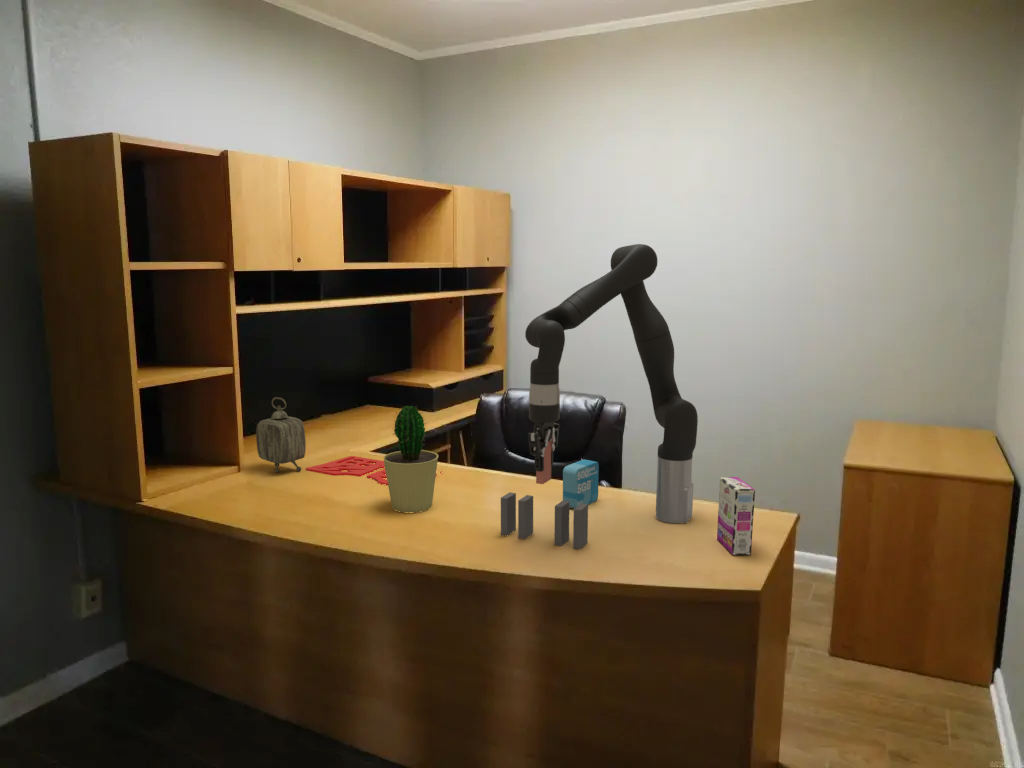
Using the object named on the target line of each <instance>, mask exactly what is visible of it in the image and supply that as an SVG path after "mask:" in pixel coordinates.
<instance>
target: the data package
mask: <svg viewBox="0 0 1024 768" xmlns="http://www.w3.org/2000/svg"><path fill="white" fill-rule="evenodd" d="M599 468H600V467H599V462H598V461H594V460H589V459H581V460H578V461H576V462H574V463H570V464H568V465H566V466H565V467H564V468H563V470H562V501H569V509H572V510H574V509H575V508H576V507H577V506H579V505H580V504H581V503H582V504H588V506H590V505H591V504H593V503H595V502H597V500H598V498H599V478H600V477H599V474H600V473H599V472H600V469H599Z"/></svg>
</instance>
